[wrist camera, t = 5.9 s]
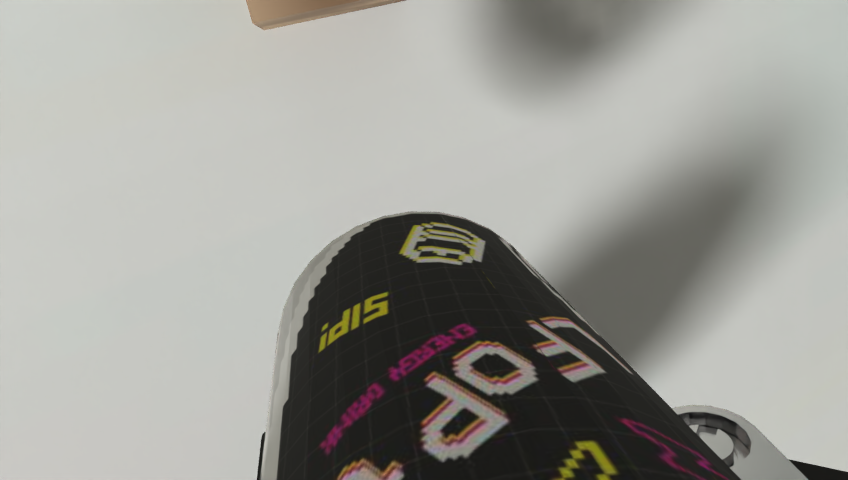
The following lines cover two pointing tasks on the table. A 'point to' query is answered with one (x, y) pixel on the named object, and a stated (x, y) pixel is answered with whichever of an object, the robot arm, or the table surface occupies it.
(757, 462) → the robot arm
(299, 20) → the tan cube
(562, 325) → the beverage can
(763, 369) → the table surface
